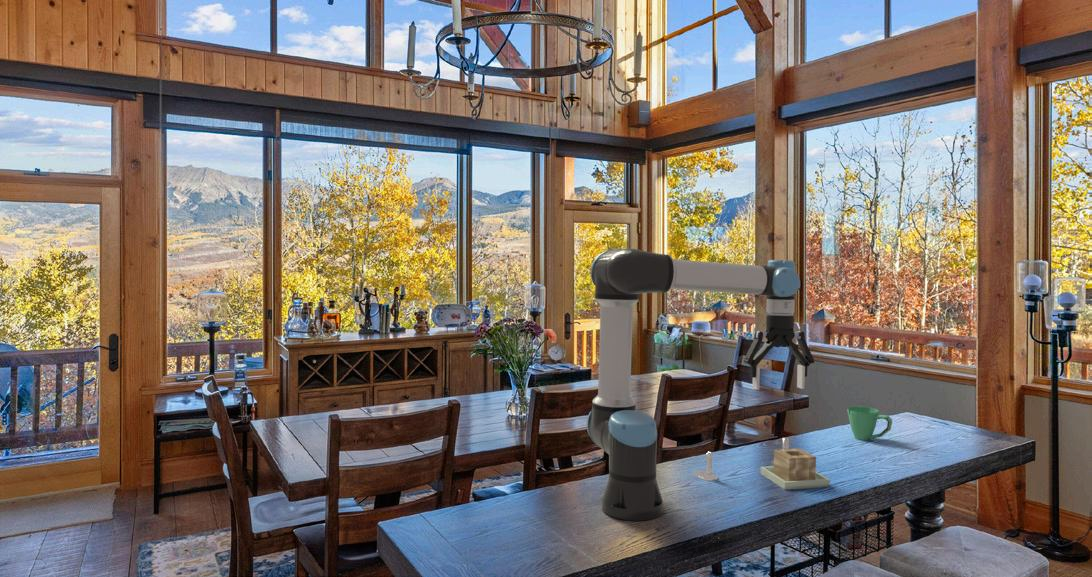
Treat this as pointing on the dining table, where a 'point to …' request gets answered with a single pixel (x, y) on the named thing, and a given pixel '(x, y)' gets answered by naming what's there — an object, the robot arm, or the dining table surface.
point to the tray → (788, 485)
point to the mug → (866, 422)
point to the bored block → (794, 465)
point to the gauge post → (785, 446)
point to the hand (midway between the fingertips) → (778, 388)
